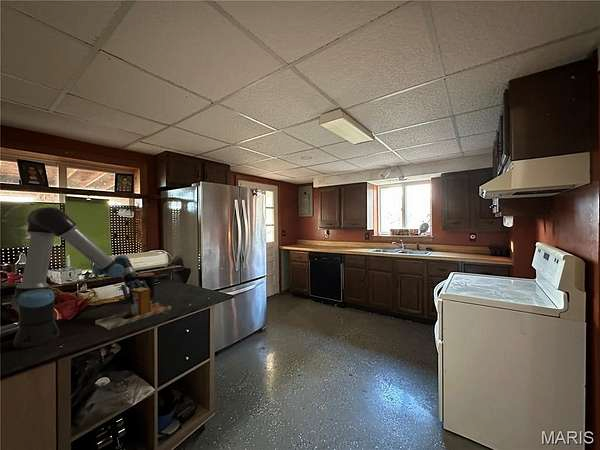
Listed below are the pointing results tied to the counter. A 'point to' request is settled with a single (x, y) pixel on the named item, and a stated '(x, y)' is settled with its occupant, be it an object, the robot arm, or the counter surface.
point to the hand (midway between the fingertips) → (143, 305)
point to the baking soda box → (140, 301)
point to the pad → (111, 322)
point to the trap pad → (156, 308)
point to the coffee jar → (148, 281)
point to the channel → (130, 318)
